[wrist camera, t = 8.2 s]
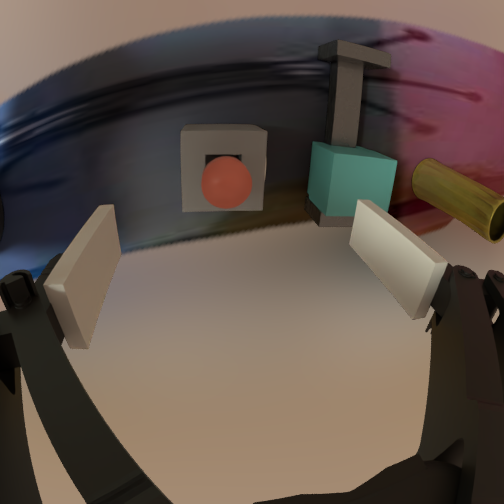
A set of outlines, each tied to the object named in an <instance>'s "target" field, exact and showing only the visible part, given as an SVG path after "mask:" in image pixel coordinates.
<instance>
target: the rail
mask: <svg viewBox="0 0 504 504" xmlns="http://www.w3.org/2000/svg"><path fill="white" fill-rule="evenodd" d="M318 60H323V61H329V62H331V65H330V81H329V95H328V107H327V118H326V129H325V139H324V143H326V144H328V145H332V146H341V147H350V148H356V142H357V134H358V125H359V116H360V105H361V94H362V81H363V69H366V70H368V69H384V68H390V65H391V54H389V53H386V52H383V51H379V50H376V49H373V48H369V47H366V46H362V45H358V44H354V43H350V42H346V41H342V40H335V41H332V42H329V43H327V44H324V45H321V46H319V48H318ZM304 210H305V211H306V212H307V213H308V214H309V215H310V217H311V218H312V219H313V220H314V221H315V223H316V224H317V225H318V226H319V227H353V222H354V216H325V215H324V214H323V213H322V212H321V211H320V210H319V209H318V207H317V206H316V205H315V204H314V203H313V202H312V201H311V200H310V199H309V197H306V199H305V208H304Z"/></svg>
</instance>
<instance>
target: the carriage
mask: <svg viewBox="0 0 504 504" xmlns="http://www.w3.org/2000/svg"><path fill="white" fill-rule="evenodd" d="M396 166H397V161H396V160H394V159H392V158H390V157H387V156H385V155H382V154H380V153H378V152H375V151H373V150H368V149H365V148H363V147H360V146H356V148H350V147H341V146H332V145H328V144H326V143H323V142H314V141H313V143H312V153H311V163H310V172H309V181H308V190H307V193H308V194H309V199H310V200H311V201H312V202H313V203H314V204H315V205H316V206H317V207H318V209H319V210H320V211H321V212H322V213H323V214H324V215H325V216H354V217H355V212H356V206H357V201H358V199H362V200H370V201H372V202H373V203H375V204H376V205H377V206H379V207H380V208H381V209H383V210H384V211H385V212H388V208H389V203H390V198H391V193H392V188H393V183H394V178H395V172H396Z"/></svg>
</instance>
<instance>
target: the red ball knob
mask: <svg viewBox="0 0 504 504" xmlns="http://www.w3.org/2000/svg"><path fill="white" fill-rule="evenodd" d="M201 187H202V192H203V195H204V197H205V198H206V200H207V201H208V202H209V203H211V204H212V205H214V206H216V207H218V208H223V209H229V208H234V207H237V206H239V205H240V204H242V203H243V202H244V201H245V200H246V199H247V198H248V196H249V195H250V192H251V189H252V178H251V175H250V173H249V171H248V170H247V168H246V166H245V165H244V164H243V163H242V162H241V161H240V160H238V159H237V158H234V157H230V156H221V157H218V158H215V159H213V160H212V161H210V162H209V163H208V164H207V165H206V167H205V168H204V170H203V173H202V179H201Z"/></svg>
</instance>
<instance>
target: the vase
mask: <svg viewBox="0 0 504 504" xmlns="http://www.w3.org/2000/svg"><path fill="white" fill-rule="evenodd" d="M412 188H413V191H414V193H415V195H416V196H417V197H418V198H419V199H421V200H424V201H426V202H428V203H429V204H431V205H433V206H435V207H436V208H438V209H440V210H442V211H444V212H445V213H447V214H449V215H451V216H452V217H454V218H456V219H458V220H459V221H461V222H462V223H464V224H466V225H467V226H468V227H470V228H471V229H472V230H474V231H475V232H476V233H478V234H479V235H481V236H482V237H483V238H485V239H486V240H488V241H490V242H491V243H494V244H495V243H498V242H499V241H501V239H502V238H503V237H504V197H503V196H501V195H499V194H497V193H496V192H494V191H493V190H491V189H489V188H487V187H485V186H483V185H482V184H480V183H478V182H476V181H474V180H472V179H470V178H468V177H466V176H464V175H462V174H460V173H458V172H456V171H454V170H453V169H451V168H449V167H447V166H445V165H443V164H441V163H439V162H438V161H437V160H435V159H432V158H428V159H425V160H423V161H421V162H420V163H419V164H418V165H417V167H416V169H415V170H414V173H413V177H412Z"/></svg>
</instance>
